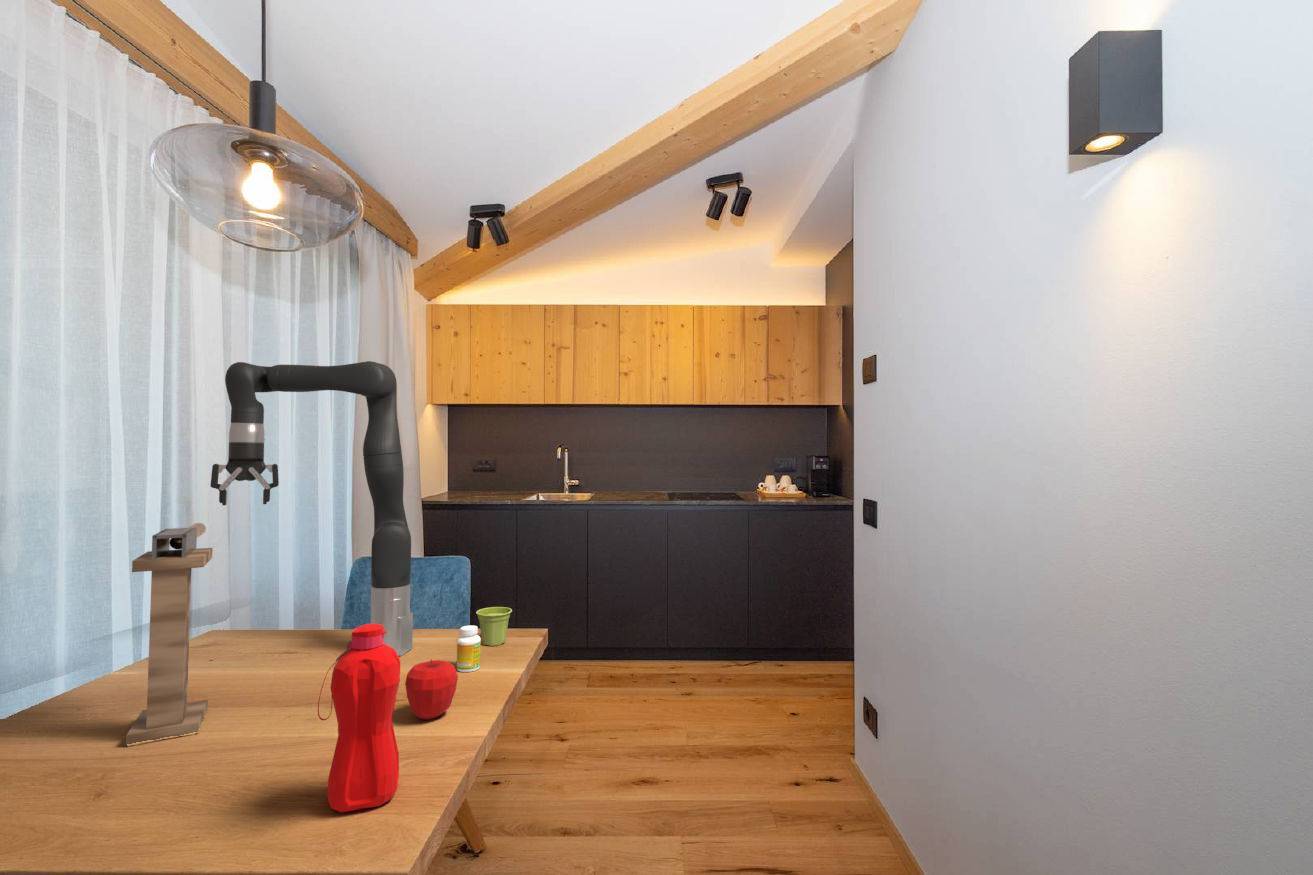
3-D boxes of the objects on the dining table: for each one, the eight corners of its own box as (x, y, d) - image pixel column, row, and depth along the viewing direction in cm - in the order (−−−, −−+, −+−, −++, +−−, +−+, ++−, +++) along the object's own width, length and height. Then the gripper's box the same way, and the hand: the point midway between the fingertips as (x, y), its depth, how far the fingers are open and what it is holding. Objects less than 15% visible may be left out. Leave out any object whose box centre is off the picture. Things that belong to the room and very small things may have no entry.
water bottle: (321, 788, 90) (325, 621, 91) (399, 775, 94) (402, 615, 95) (309, 823, 82) (313, 638, 83) (396, 807, 86) (400, 630, 86)
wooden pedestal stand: (142, 720, 113) (148, 551, 114) (207, 709, 118) (212, 547, 120) (125, 747, 103) (132, 560, 104) (198, 733, 108) (203, 556, 109)
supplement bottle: (476, 672, 139) (476, 630, 140) (453, 672, 140) (453, 630, 140) (483, 664, 145) (483, 624, 145) (461, 664, 145) (461, 624, 145)
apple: (439, 729, 110) (440, 669, 111) (393, 724, 112) (394, 665, 113) (466, 707, 120) (467, 652, 120) (423, 703, 122) (424, 649, 122)
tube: (190, 535, 135) (190, 523, 135) (205, 534, 136) (205, 522, 136) (169, 549, 114) (169, 535, 114) (187, 548, 116) (188, 534, 116)
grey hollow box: (165, 550, 116) (166, 528, 116) (196, 548, 118) (196, 527, 118) (151, 559, 105) (152, 535, 106) (185, 557, 108) (186, 534, 108)
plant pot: (473, 640, 164) (473, 608, 165) (507, 636, 168) (508, 605, 169) (478, 650, 156) (479, 616, 156) (514, 645, 160) (515, 612, 160)
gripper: (210, 440, 146) (208, 506, 145) (279, 441, 153) (277, 504, 153) (214, 441, 153) (212, 504, 152) (280, 442, 160) (278, 502, 159)
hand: (245, 504), depth 152 cm, fingers open, 8 cm apart
